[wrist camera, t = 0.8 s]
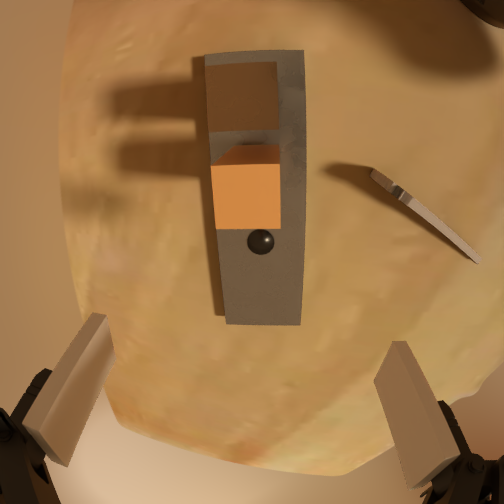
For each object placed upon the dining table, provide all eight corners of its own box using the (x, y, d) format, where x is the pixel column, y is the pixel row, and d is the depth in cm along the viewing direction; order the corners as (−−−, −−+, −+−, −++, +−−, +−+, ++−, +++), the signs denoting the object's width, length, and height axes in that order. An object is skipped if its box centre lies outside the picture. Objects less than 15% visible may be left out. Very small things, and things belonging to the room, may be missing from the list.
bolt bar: (302, 53, 24) (319, 15, 13) (299, 317, 37) (304, 399, 26) (208, 57, 25) (161, 27, 13) (228, 316, 38) (209, 395, 27)
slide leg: (279, 143, 26) (279, 164, 17) (280, 185, 28) (280, 228, 19) (235, 144, 27) (210, 166, 17) (237, 186, 28) (215, 229, 19)
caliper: (366, 175, 29) (386, 191, 23) (372, 166, 29) (393, 181, 23) (476, 262, 32) (499, 288, 26) (481, 256, 32) (505, 281, 26)
